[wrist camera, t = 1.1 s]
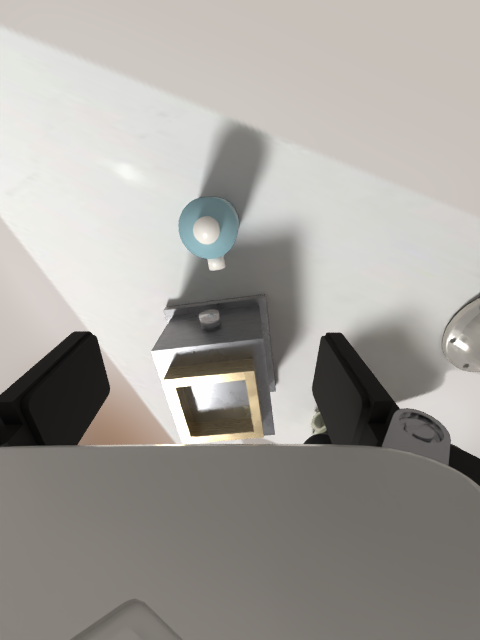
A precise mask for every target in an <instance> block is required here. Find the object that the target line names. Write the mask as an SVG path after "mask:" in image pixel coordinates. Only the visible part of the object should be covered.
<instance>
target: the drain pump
mask: <svg viewBox="0 0 480 640" xmlns="http://www.w3.org/2000/svg"><path fill="white" fill-rule="evenodd" d="M238 227H239V218H238V214H237V212H236V210H235V208H234V207H233V205H232V204H231V203H230V202H228V201H227V200H225V199H223V198H219V197H202V198H198V199H195V200H193V201H191V202H190V203H189V204H188V205H187V206H186V207H185V208H184V210H183V211H182V213H181V216H180V219H179V234H180V237H181V240H182V242H183V244H184V245H185V246H186V248H187V249H188V250H189V251H190V252H191V253H193V254H194V255H196V256H198V257H201V258H205V259H207V260H208V265H209V270H212V271H214V270H220V269H224V268H225V267H226V266H225V260H224V254H226V253H227V252H228V251H229V250H230V249H231V248H232V246H233V244H234V242H235V240H236V236H237V232H238Z"/></svg>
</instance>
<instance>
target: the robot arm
mask: <svg viewBox="0 0 480 640" xmlns="http://www.w3.org/2000/svg"><path fill="white" fill-rule="evenodd" d="M442 348H443V353H444V355H445V356H446V358H447V359H448V360H449V361H450V362H451V363H452V364H453V365H455V366H456V367H457V368H459V369H461V370H465V371H469V372H480V298H478V299H476V300H475V301H473V302H471V303H470V304H468V305H467V306H466V307H464V308H463V309H462V310H460V311H459V312H458V314H457V315H456V316H455V317H454V318H453V319H452V320H451V322H450V323H449V325H448V326H447V328H446V330H445V332H444V336H443V340H442ZM109 392H110V385H109V382H108V378H107V374H106V370H105V367H104V363H103V359H102V355H101V352H100V347H99V344H98V340H97V337H96V336H95V335H93V334H92V333H91V332H73V333H72V334H70V335H69V336H68V337H67V338H66V339H65V340H63V341H62V342H61V343H60V344H59V345H58V346H56V347H55V348H54V349H53V350H52V351H51V352H50V353H48V354H47V355H46V356H45V357H44V358H43V359H41V360H40V361H39V362H38V363H37V364H36V365H35V366H33V367H32V368H31V369H30V370H29V371H27V372H26V373H25V374H24V375H23V376H22V377H20V378H19V379H18V380H17V381H16V382H15V383H13V384H12V385H11V386H10V387H9V388H8V389H7V390H5V391H4V392H3V393H2V394H1V395H0V640H480V459H479V458H477V457H475V456H473V455H471V454H469V453H467V452H465V451H463V450H461V449H459V448H457V447H455V446H453V445H451V444H450V442H451V439H450V434H449V432H448V431H447V429H446V428H445V427H444V426H443V425H442V424H441V423H440V422H439V421H438V420H436V419H435V418H433V417H432V416H430V415H428V414H426V413H424V412H421V411H418V410H414V409H408V408H406V409H399V407H398V406H397V405H396V403H395V402H394V401H393V399H392V398H391V397H390V395H389V394H388V393H387V391H386V390H385V389H384V388H383V386H382V385H381V384H380V382H379V381H378V380H377V378H376V377H375V376H374V374H373V373H372V372H371V371H370V369H369V368H368V367H367V366H366V364H365V363H364V362H363V360H362V359H361V358H360V356H359V355H358V354H357V352H356V351H355V350H354V348H353V347H352V346H351V345H350V343H349V342H348V341H347V339H346V338H345V337H344V335H343V334H342V333H326V335H325V336H322V337H321V340H320V346H319V352H318V357H317V363H316V369H315V374H314V380H313V386H312V392H313V396H314V398H315V401H316V403H317V406H318V409H319V411H320V414H321V416H322V419H323V421H324V424H325V427H326V429H327V432H328V434H329V437H330V439H331V442H332V444H170V445H169V444H166V445H165V444H158V445H78V443H79V441H80V440H81V438H82V437H83V435H84V433H85V432H86V430H87V428H88V427H89V425H90V424H91V422H92V420H93V419H94V417H95V416H96V414H97V413H98V411H99V409H100V408H101V406H102V405H103V403H104V401H105V400H106V398H107V396H108V395H109Z"/></svg>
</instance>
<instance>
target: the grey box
mask: <svg viewBox="0 0 480 640" xmlns="http://www.w3.org/2000/svg"><path fill="white" fill-rule="evenodd" d="M164 313H165V317H166V320H167V326H166V328H165V329H164V331H163V333H162V334H161V336H160V337H159V339H158V341H157V342H156V344H155V346H154V347H153V349H152V351H151V353H152V356H153V358H154V361H155V364H156V367H157V370H158V373H159V376H160V379H161V382H162V385H163V388H164V391H165V394H166V397H167V399H168V402H169V405H170V408H171V411H172V414H173V417H174V420H175V423H176V426H177V429H178V432H179V435H180V437H181V440H182V442H184V444H190V443H202V442H214V441H225V440H237V439H248V438H261V437H264V435H275V431H274V423H273V415H272V406H271V398H270V392H274V391H276V388H275V378H274V369H273V360H272V350H271V341H270V332H269V322H268V313H267V304H266V296H265V294H263V295H255V296H248V297H240V298H232V299H224V300H216V301H209V302H201V303H193V304H185V305H177V306H170V307H166V308H165V309H164Z"/></svg>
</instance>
